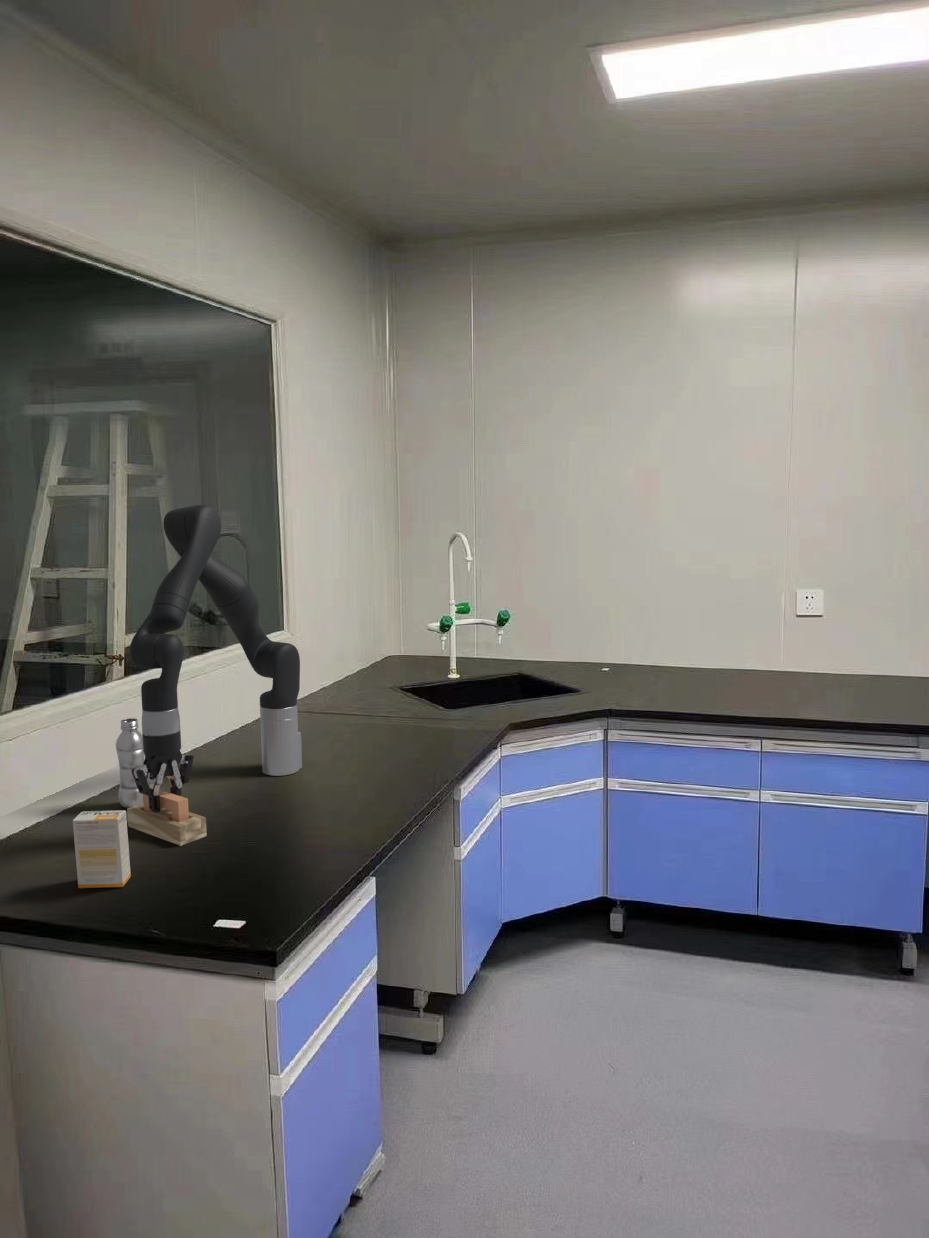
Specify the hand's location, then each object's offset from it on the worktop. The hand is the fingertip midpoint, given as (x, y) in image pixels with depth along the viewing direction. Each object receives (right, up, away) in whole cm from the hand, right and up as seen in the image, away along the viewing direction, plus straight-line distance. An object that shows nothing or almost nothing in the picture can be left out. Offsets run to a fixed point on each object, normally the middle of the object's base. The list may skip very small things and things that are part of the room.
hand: (165, 807), depth 188 cm
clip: (0, -4, +1) cm, 4 cm away
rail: (0, -5, +1) cm, 5 cm away
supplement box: (-3, -9, -24) cm, 26 cm away
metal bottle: (-12, -3, +16) cm, 20 cm away
